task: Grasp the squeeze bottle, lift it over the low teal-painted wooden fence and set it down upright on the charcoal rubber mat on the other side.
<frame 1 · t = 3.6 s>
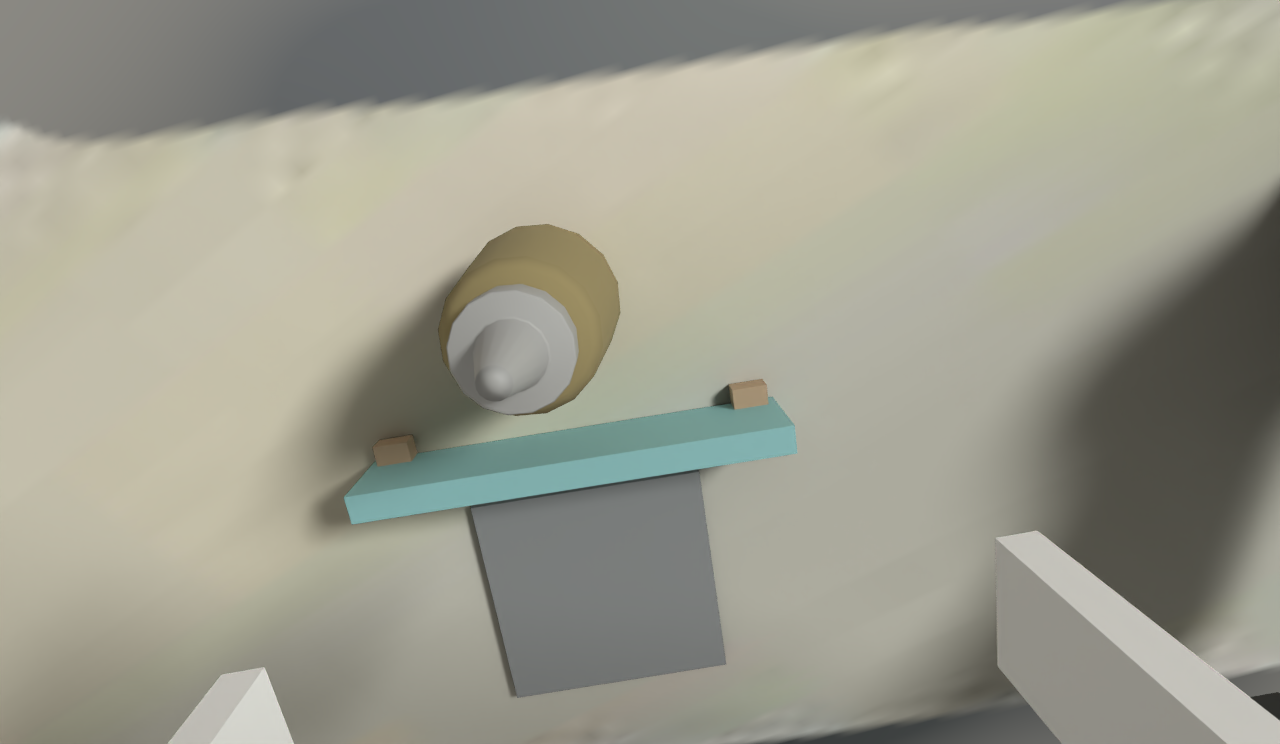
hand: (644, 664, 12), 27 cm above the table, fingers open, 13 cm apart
fence: (576, 440, 40), on the table
mat: (604, 584, 42), on the table
squeeze bottle: (548, 293, 38), on the table
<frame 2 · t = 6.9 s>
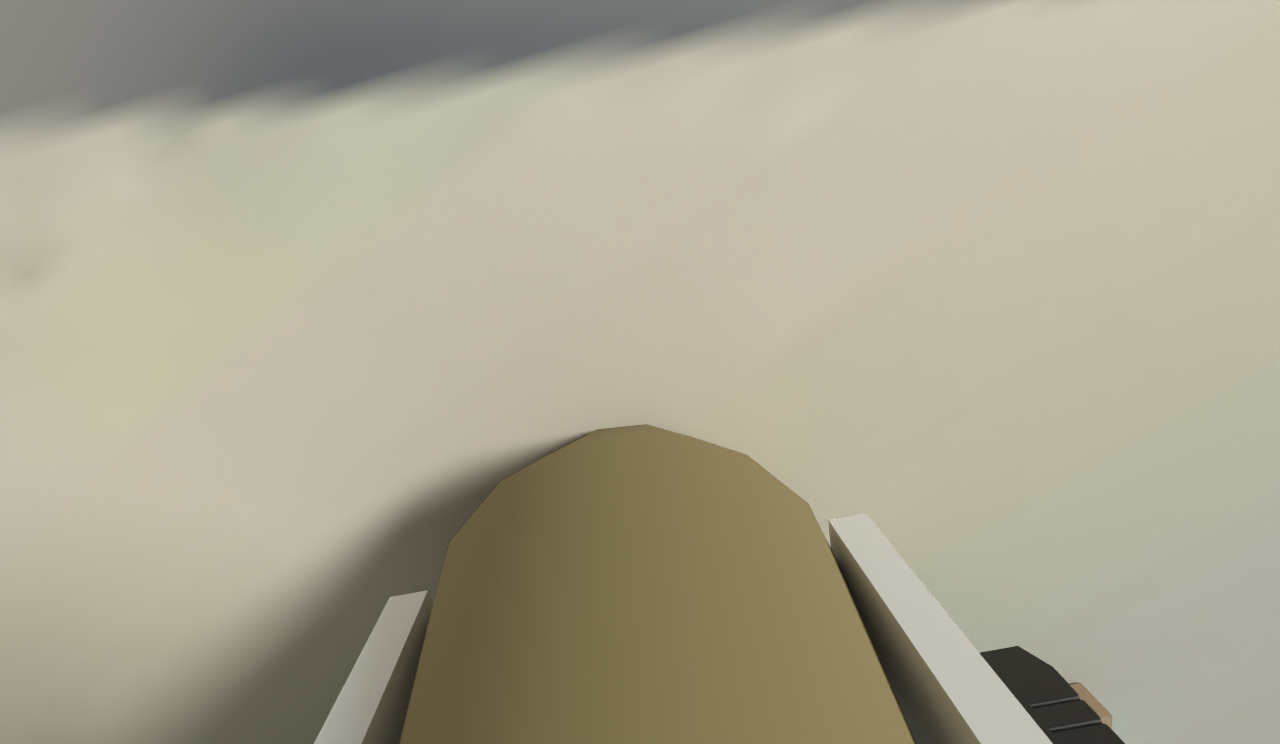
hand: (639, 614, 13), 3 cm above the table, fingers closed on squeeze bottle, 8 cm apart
squeeze bottle: (632, 528, 17), on the table, touching gripper
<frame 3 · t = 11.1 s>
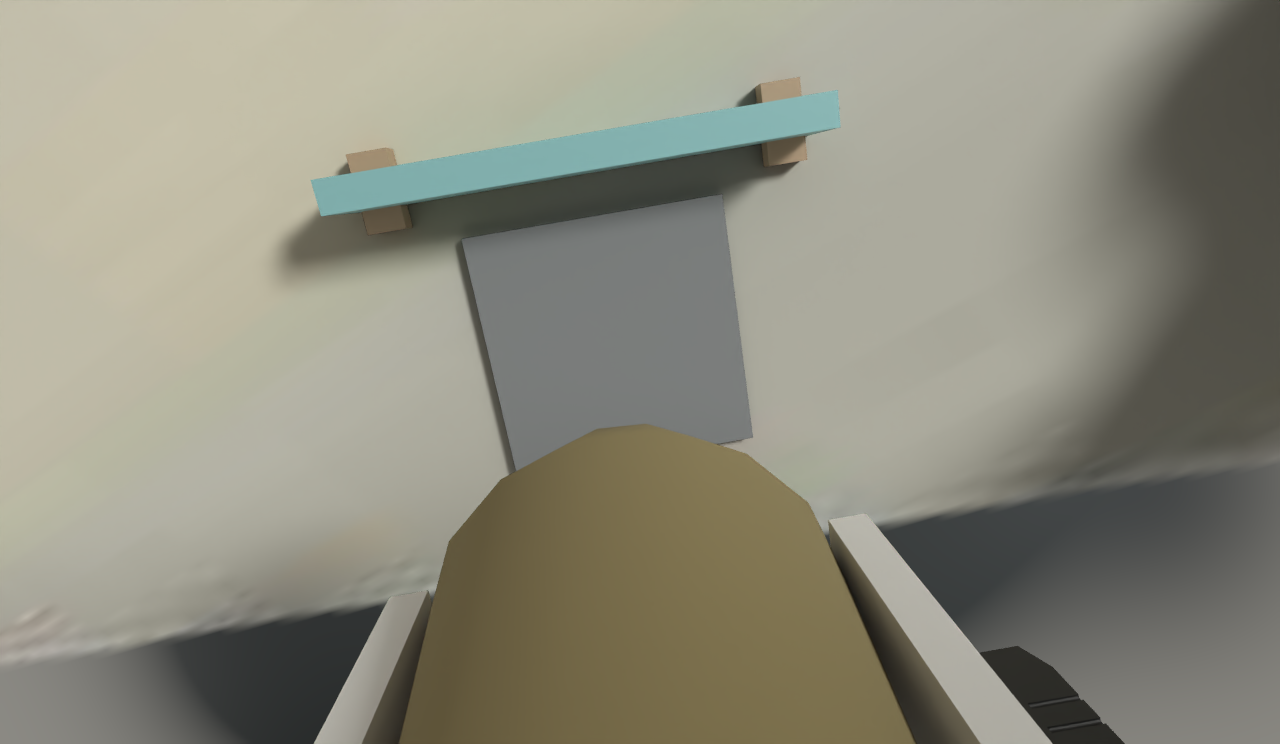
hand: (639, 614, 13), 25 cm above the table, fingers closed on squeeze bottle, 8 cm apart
fence: (581, 158, 35), on the table
mat: (614, 341, 37), on the table
squeeze bottle: (632, 527, 17), point 22 cm above the table, touching gripper
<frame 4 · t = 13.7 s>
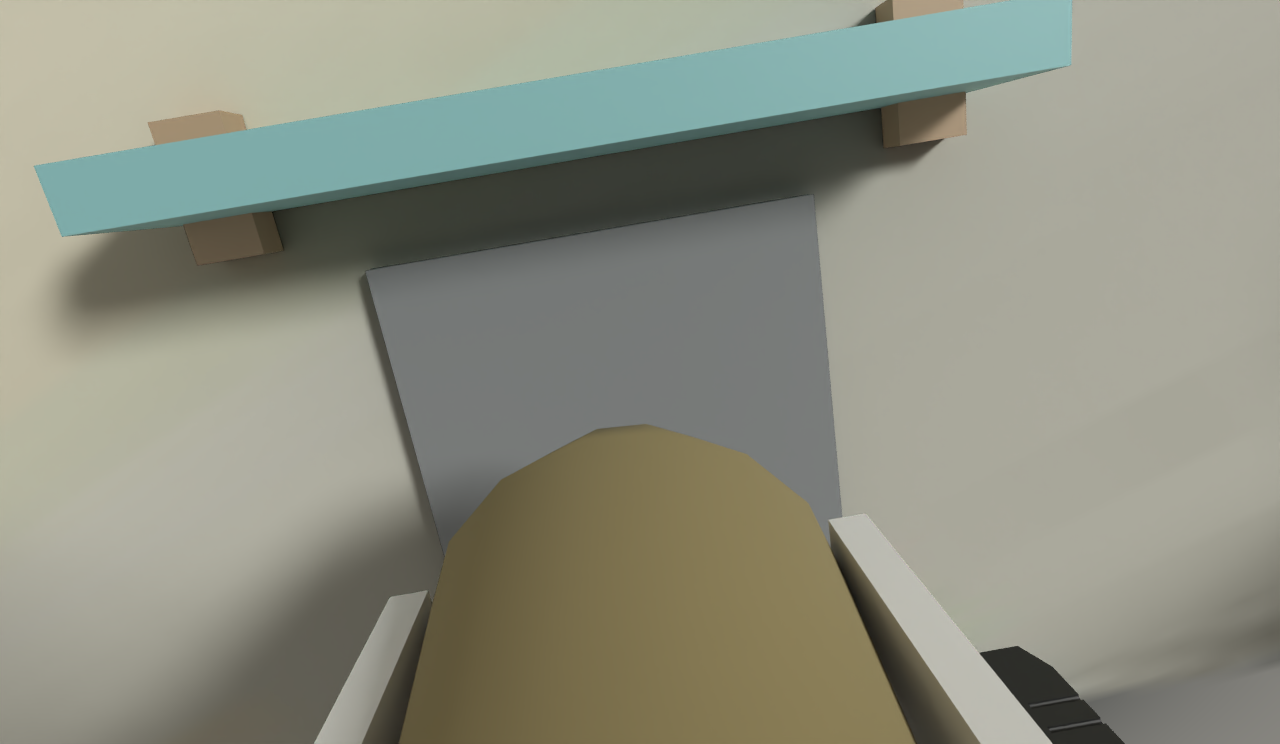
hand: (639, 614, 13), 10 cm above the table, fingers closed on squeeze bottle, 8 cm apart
fence: (572, 132, 20), on the table
mat: (627, 435, 23), on the table
squeeze bottle: (632, 528, 17), point 6 cm above the table, touching gripper
when the fingers open (5 cm above the table, at t = 15.6 s): squeeze bottle drops 1 cm, resting on mat.
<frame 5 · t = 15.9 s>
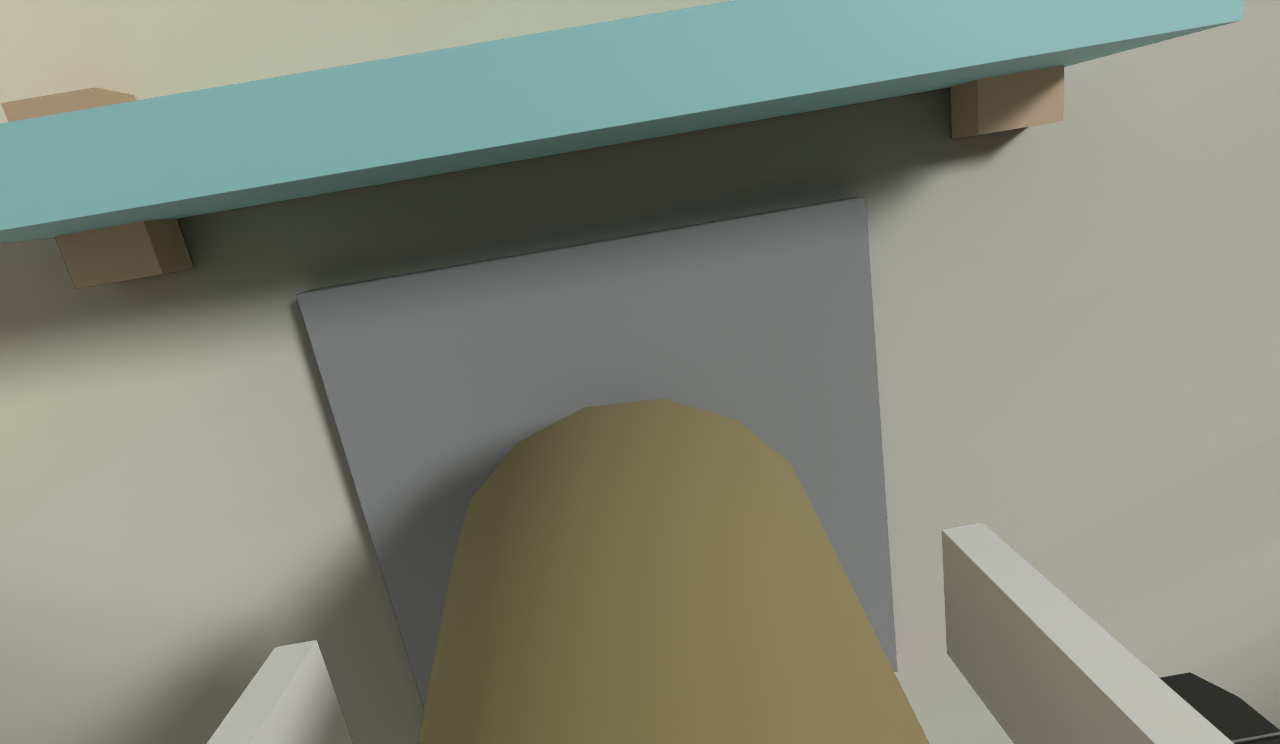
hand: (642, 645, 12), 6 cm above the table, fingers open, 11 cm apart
fence: (559, 117, 16), on the table
mat: (628, 493, 19), on the table
squeeze bottle: (631, 500, 18), resting on mat
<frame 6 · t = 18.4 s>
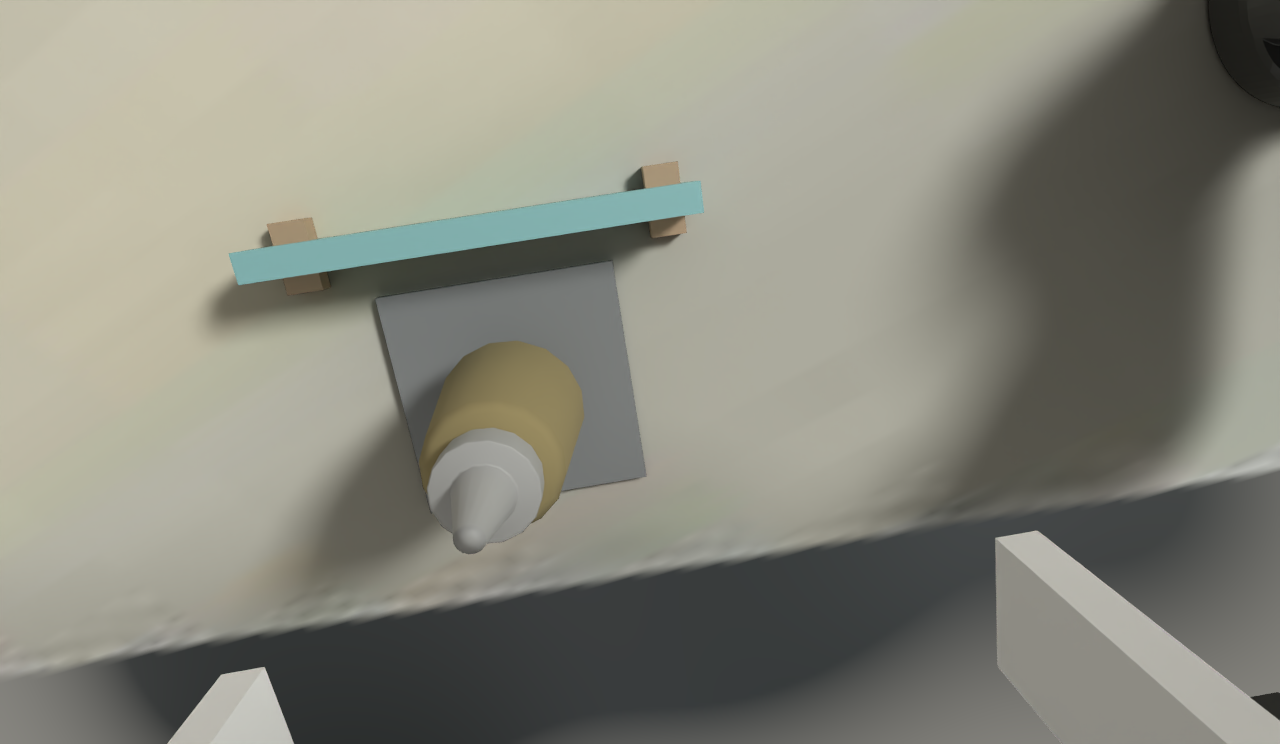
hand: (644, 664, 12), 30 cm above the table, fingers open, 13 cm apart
fence: (485, 227, 39), on the table
mat: (518, 389, 41), on the table
squeeze bottle: (519, 390, 41), resting on mat
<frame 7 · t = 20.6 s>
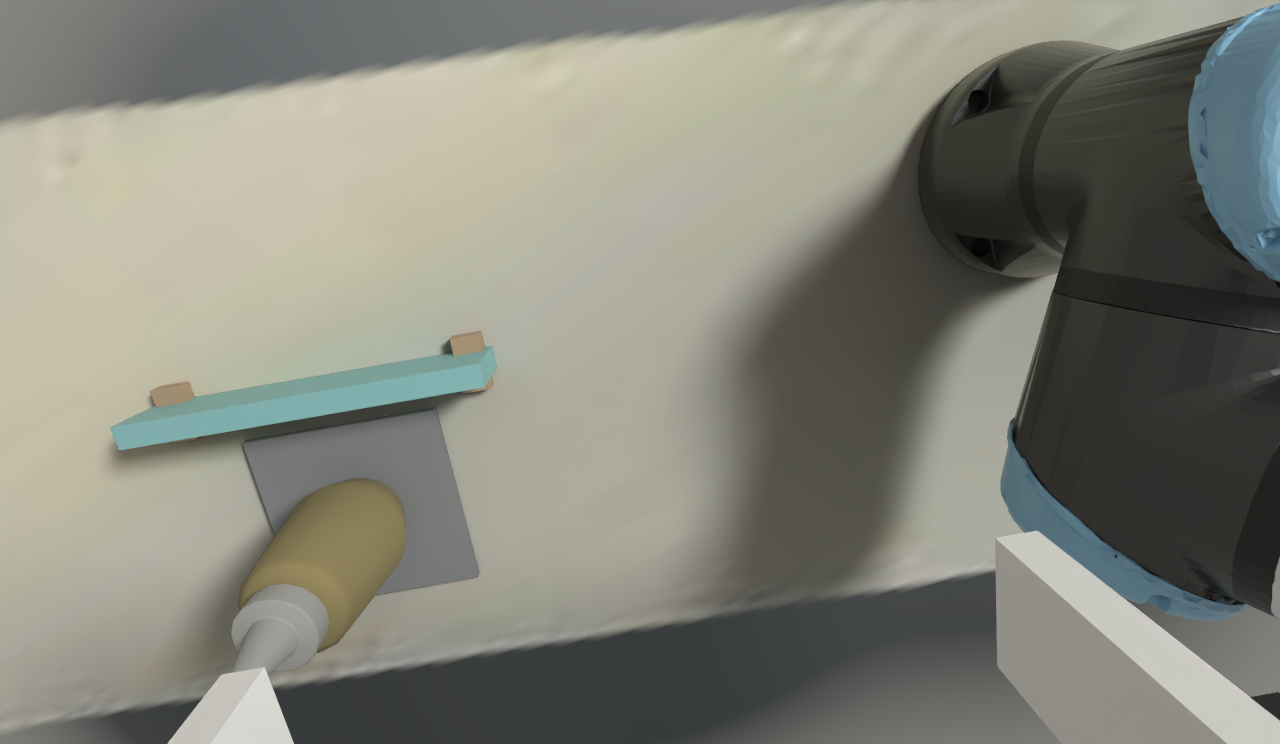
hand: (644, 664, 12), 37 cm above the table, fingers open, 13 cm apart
fence: (329, 385, 48), on the table
mat: (367, 509, 50), on the table
squeeze bottle: (366, 511, 50), resting on mat
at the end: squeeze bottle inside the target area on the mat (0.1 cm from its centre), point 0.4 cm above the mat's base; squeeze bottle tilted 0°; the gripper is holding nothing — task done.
